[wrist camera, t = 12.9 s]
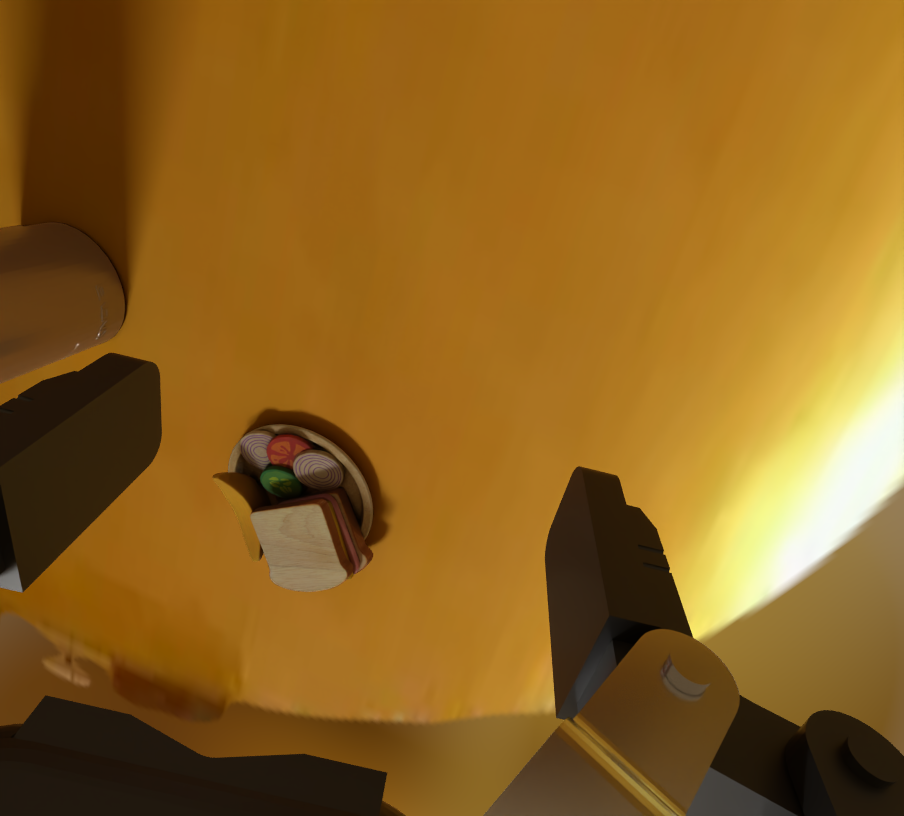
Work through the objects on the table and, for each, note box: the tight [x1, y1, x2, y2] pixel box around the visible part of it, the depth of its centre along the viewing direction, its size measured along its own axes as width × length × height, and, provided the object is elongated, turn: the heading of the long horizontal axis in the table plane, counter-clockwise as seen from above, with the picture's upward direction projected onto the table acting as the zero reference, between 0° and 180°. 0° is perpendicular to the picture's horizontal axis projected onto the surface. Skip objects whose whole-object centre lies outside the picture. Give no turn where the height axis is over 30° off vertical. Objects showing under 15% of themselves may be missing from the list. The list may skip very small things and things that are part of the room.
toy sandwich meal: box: [213, 424, 373, 592], centre depth 44 cm, size 12×14×5 cm
